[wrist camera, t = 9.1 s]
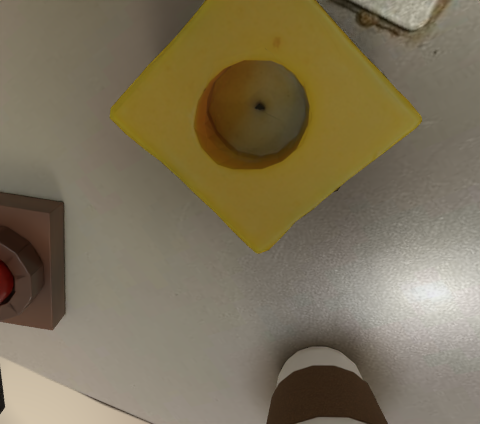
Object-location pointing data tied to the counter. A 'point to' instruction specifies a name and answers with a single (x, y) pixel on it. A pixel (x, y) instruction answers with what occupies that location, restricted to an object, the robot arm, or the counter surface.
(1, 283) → the button
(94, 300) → the counter surface
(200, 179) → the candle
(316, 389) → the coffee cup
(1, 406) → the robot arm
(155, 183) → the counter surface
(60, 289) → the switch block
